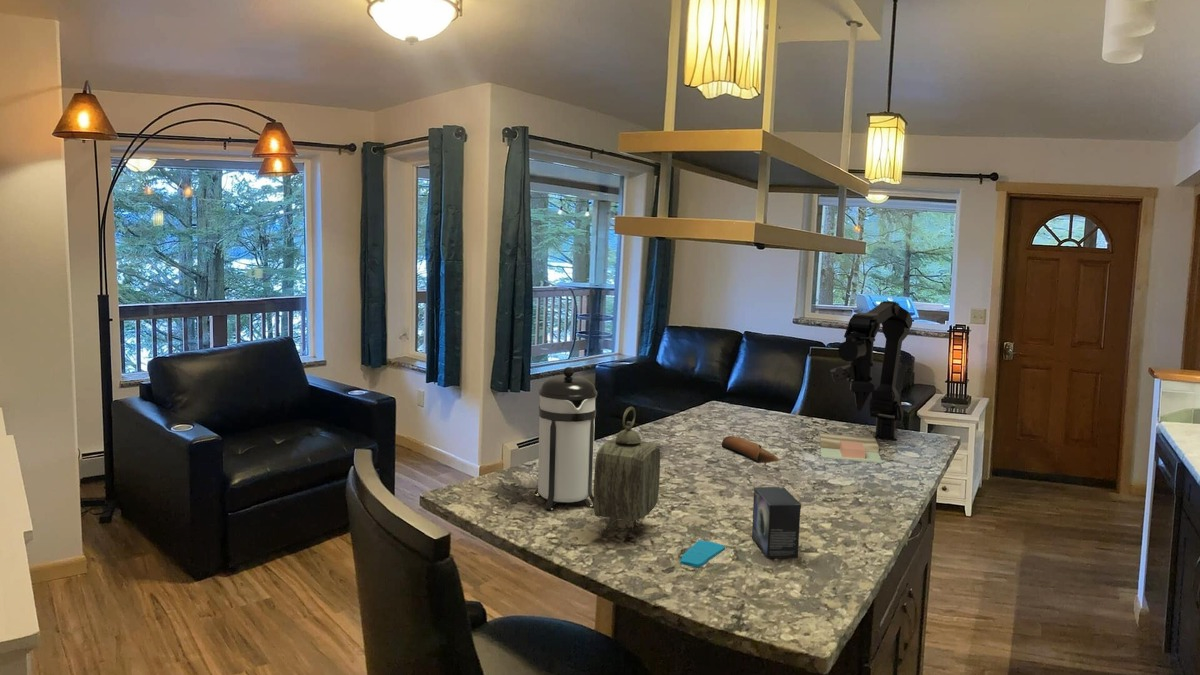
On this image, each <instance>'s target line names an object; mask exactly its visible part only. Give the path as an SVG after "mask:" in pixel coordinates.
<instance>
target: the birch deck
mask: <svg viewBox="0 0 1200 675" xmlns="http://www.w3.org/2000/svg"><path fill="white" fill-rule="evenodd" d="M840 441H848V442H861V443H862V444H863V446H864V448H865V450H866V452H873V453H879V449H880V447H879V445H878V442H877V438H875V437H869V436H858V435H848V434H847V435H846V434H834V433H823V432H820V433H819V447H820V450H821V448H829V449H839V448H840Z"/></svg>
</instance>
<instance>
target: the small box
mask: <svg viewBox="0 0 1200 675" xmlns="http://www.w3.org/2000/svg"><path fill="white" fill-rule="evenodd" d="M801 508H802V504H801V503H800V502H799V501H798V500H797V499H796V498H795V496H793V495H792V494H791V493H790V492H789V490H787V489H786V488H785V487H784V486H761V487H758V486H757V487H754V488H753V507H752V528H751V529H752V530H751V537H752V539H753V541H754V542H755V543H756V545H757V546H758V547H759V549H760V550H761V552H762V553H763V554H764V556H765V557H766V559H798V558H799V547H800V546H799V545H800V543H799V542H800V526H801V525H800V524H801V522H800V520H801V512H802V511H801Z"/></svg>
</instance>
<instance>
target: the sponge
mask: <svg viewBox="0 0 1200 675" xmlns="http://www.w3.org/2000/svg"><path fill="white" fill-rule="evenodd" d="M725 549H726V546H725V545H723V544H721V543H716V542H713V541H709V540H708V541H707V540H701V539H699V540H697V541H696V542H695V543H694V544H692V546H691V547H689V549H687V550H686V551H685V552H684V553H683V554H682V555H681V556H680V561H679V565H680V564H681V565H685V566H690V567H693V568H697V569H699V568H702V567H703V566H704V565H705V564H707V563H708V562H709V561H710V560H712V559H713V558H714V557H715V556H718V555H719V554H720V553H721V552H723V551H725Z"/></svg>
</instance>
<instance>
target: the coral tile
mask: <svg viewBox="0 0 1200 675" xmlns="http://www.w3.org/2000/svg"><path fill="white" fill-rule="evenodd" d="M839 449H840V452H841V455H842V457H848V458H859V459H865V452H866V450H865V448H864V446H863V444H862V443H861V442H848V441H840V448H839Z"/></svg>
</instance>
